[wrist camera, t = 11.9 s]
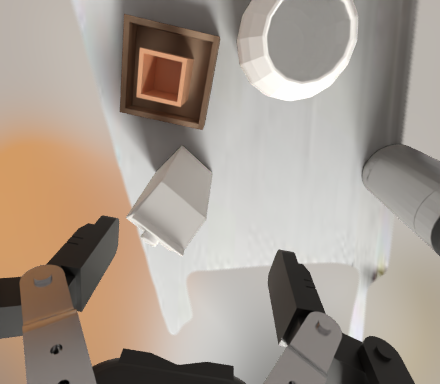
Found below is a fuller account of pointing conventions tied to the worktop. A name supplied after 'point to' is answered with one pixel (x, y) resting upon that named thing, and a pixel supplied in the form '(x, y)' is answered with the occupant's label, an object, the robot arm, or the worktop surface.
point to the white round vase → (296, 45)
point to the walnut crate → (174, 44)
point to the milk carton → (174, 202)
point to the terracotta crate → (164, 77)
